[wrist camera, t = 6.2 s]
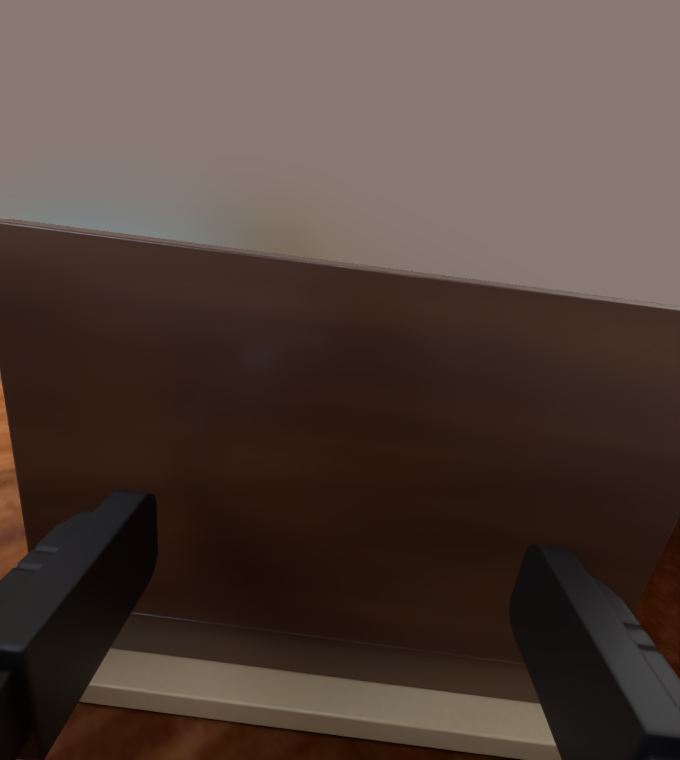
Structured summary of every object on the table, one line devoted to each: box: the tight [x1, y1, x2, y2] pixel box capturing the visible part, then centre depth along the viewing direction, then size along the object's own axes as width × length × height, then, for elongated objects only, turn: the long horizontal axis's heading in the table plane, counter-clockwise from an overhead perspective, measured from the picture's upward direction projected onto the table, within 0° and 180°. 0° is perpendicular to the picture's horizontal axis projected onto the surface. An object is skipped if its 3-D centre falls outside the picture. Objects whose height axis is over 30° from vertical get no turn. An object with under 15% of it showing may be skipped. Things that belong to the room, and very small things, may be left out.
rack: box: [0, 219, 680, 704], centre depth 15 cm, size 10×16×12 cm, turn 87°
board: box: [79, 648, 562, 760], centre depth 25 cm, size 28×20×1 cm
